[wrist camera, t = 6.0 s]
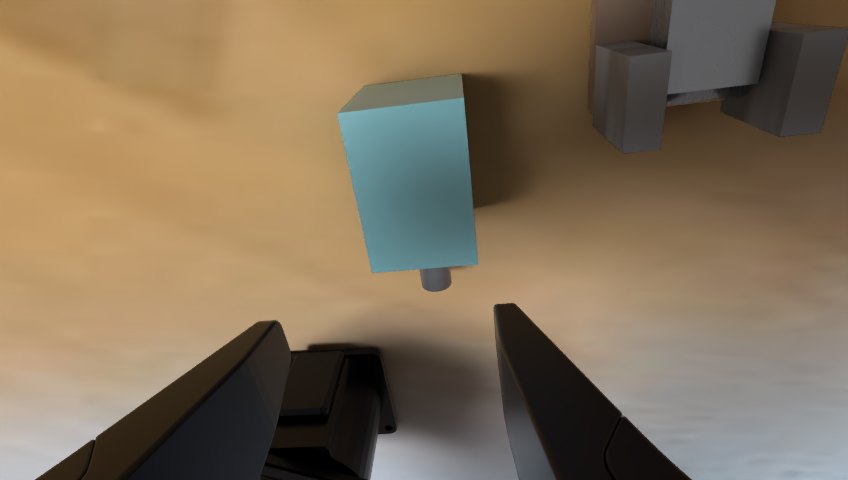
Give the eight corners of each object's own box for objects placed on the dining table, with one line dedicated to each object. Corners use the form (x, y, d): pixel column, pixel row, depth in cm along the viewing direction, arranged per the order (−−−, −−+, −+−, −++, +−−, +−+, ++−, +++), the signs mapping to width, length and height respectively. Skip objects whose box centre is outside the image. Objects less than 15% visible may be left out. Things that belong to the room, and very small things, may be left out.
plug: (477, 262, 22) (483, 328, 18) (398, 269, 23) (385, 334, 18) (461, 72, 18) (463, 97, 14) (364, 85, 19) (337, 113, 14)
